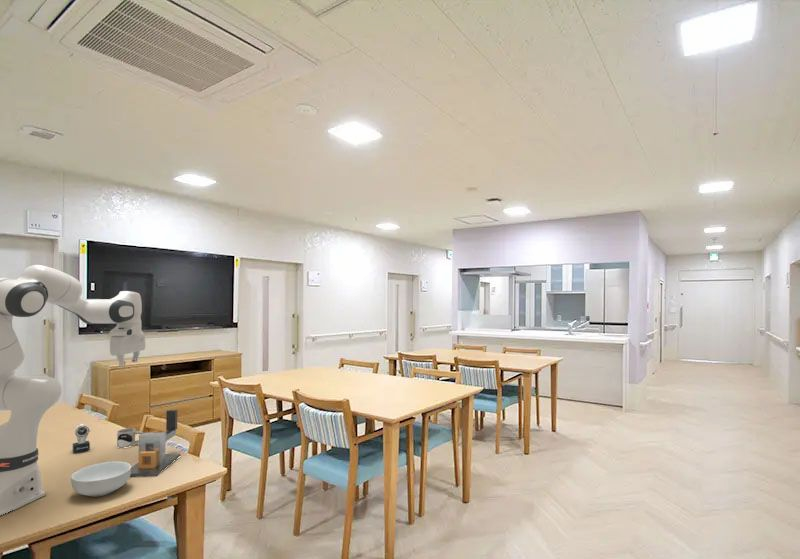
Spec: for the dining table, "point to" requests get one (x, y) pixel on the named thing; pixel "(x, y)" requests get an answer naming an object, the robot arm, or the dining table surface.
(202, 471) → the dining table surface
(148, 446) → the stand
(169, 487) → the dining table surface
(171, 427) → the dark angled piece
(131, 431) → the mug
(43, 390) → the robot arm
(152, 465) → the orange flat block
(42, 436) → the dining table surface
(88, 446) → the watch
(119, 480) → the cereal bowl
